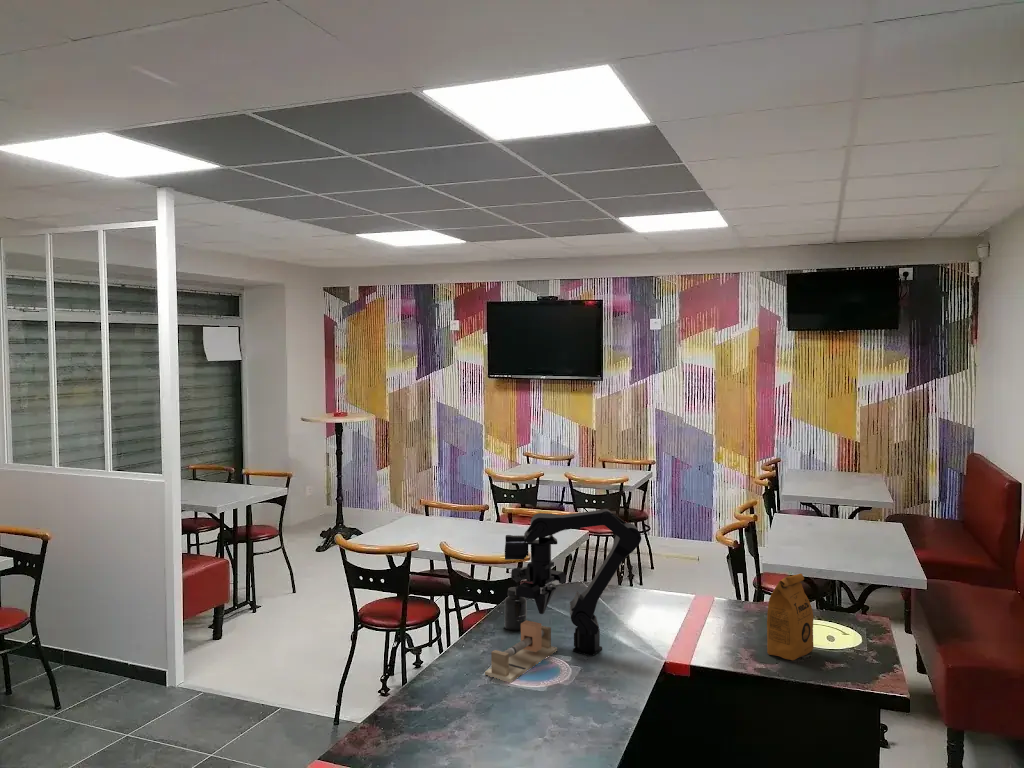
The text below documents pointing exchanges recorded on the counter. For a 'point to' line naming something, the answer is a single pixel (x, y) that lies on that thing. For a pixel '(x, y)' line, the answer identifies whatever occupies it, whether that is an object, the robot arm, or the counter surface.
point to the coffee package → (789, 620)
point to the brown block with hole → (532, 634)
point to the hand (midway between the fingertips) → (541, 613)
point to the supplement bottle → (515, 610)
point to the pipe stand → (519, 657)
